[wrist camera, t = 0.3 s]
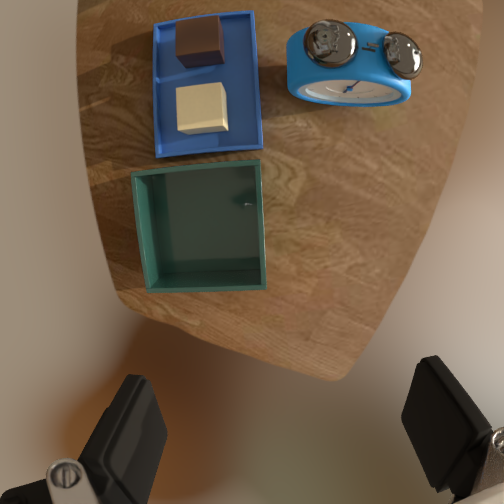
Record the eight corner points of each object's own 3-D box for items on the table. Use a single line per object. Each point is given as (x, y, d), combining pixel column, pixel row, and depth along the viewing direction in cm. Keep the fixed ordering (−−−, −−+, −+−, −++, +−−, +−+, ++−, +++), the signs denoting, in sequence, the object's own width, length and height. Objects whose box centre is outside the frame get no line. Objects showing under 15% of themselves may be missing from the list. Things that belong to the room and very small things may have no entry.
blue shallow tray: (157, 28, 31) (153, 24, 29) (253, 15, 30) (253, 10, 29) (159, 158, 36) (155, 158, 34) (262, 149, 35) (263, 148, 34)
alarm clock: (283, 103, 34) (297, 64, 19) (282, 59, 32) (294, 2, 18) (382, 112, 33) (444, 89, 19) (380, 69, 32) (435, 30, 17)
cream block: (186, 97, 33) (175, 87, 28) (226, 92, 33) (221, 81, 28) (188, 134, 35) (177, 130, 30) (228, 131, 34) (223, 125, 30)
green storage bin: (149, 170, 36) (130, 172, 31) (260, 160, 36) (260, 159, 30) (161, 275, 40) (146, 293, 34) (265, 271, 40) (266, 289, 34)
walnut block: (185, 36, 31) (175, 21, 26) (223, 31, 31) (218, 14, 26) (185, 68, 32) (175, 56, 27) (224, 63, 32) (219, 50, 27)
